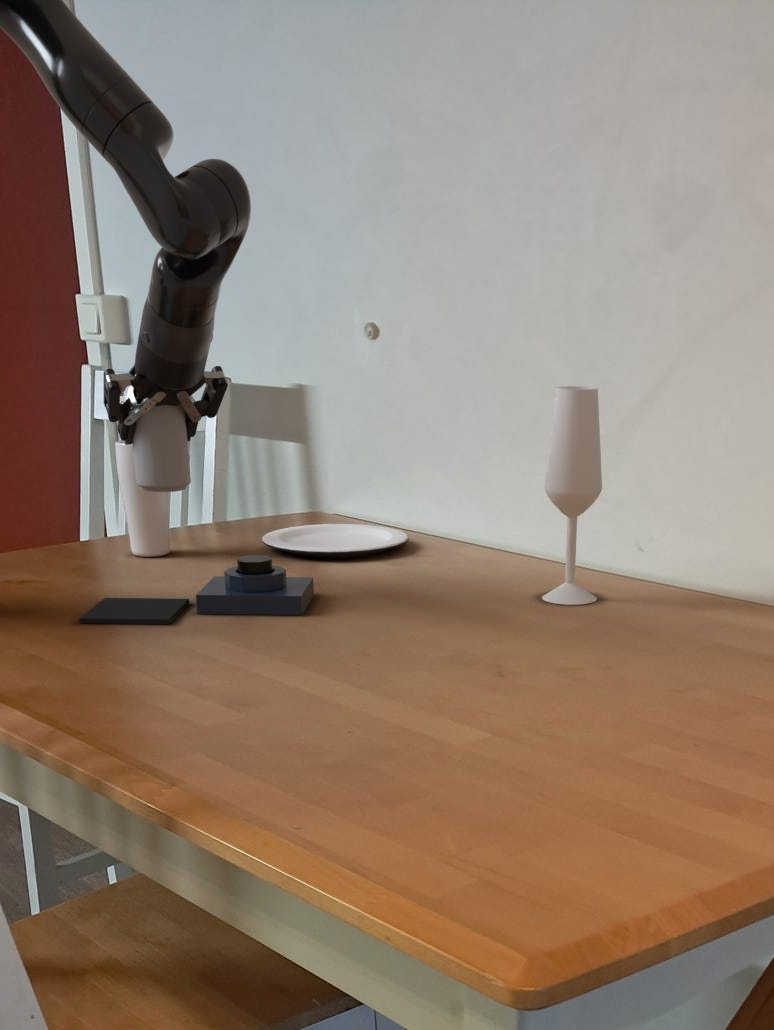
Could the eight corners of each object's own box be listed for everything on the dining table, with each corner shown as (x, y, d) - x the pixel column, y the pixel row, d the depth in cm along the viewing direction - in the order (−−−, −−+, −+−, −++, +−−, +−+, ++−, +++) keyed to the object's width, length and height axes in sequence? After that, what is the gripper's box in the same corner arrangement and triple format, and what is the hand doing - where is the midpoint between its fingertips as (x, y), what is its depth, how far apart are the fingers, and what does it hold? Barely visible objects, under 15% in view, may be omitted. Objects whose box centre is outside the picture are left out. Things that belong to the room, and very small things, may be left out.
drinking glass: (117, 553, 177) (104, 441, 171) (160, 547, 181) (149, 437, 175) (141, 561, 172) (129, 445, 166) (185, 554, 177) (175, 441, 170)
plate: (297, 568, 169) (296, 555, 168) (240, 542, 185) (239, 530, 184) (434, 553, 179) (434, 541, 178) (369, 530, 195) (369, 518, 194)
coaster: (79, 623, 141) (78, 618, 141) (105, 602, 150) (104, 597, 150) (169, 624, 141) (168, 619, 141) (189, 603, 150) (189, 598, 150)
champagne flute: (536, 593, 156) (541, 385, 147) (588, 591, 158) (597, 385, 148) (548, 605, 150) (555, 390, 141) (603, 603, 152) (613, 390, 142)
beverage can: (147, 494, 149) (137, 385, 144) (129, 487, 154) (119, 382, 149) (199, 490, 152) (190, 384, 148) (180, 484, 157) (171, 381, 153)
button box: (197, 614, 146) (194, 579, 144) (215, 594, 155) (212, 561, 153) (301, 615, 145) (300, 580, 144) (313, 595, 154) (312, 562, 153)
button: (234, 577, 147) (233, 562, 146) (241, 570, 150) (240, 555, 150) (269, 577, 147) (268, 562, 146) (275, 570, 150) (274, 555, 150)
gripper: (229, 307, 142) (204, 410, 157) (100, 307, 136) (86, 414, 150) (249, 360, 140) (222, 459, 154) (118, 363, 134) (103, 466, 148)
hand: (155, 437), depth 152 cm, fingers closed on beverage can, 6 cm apart
